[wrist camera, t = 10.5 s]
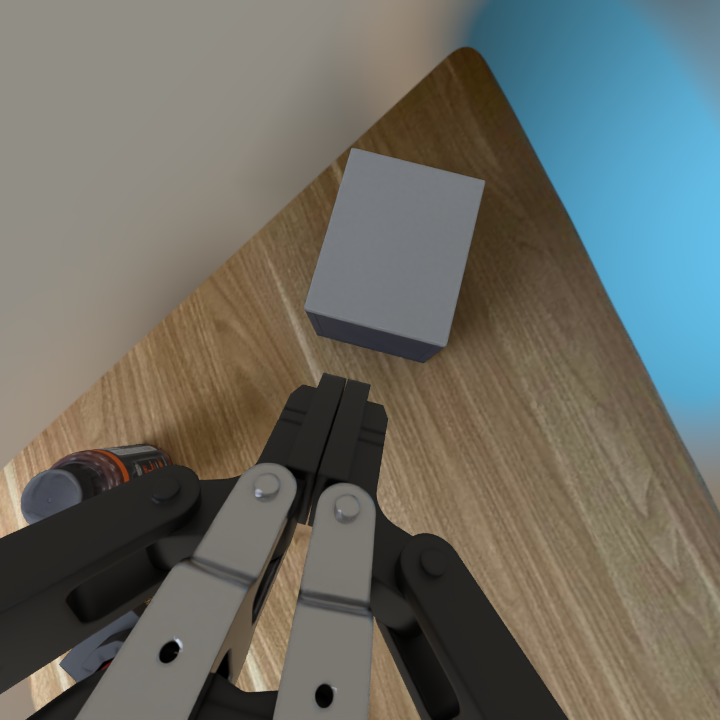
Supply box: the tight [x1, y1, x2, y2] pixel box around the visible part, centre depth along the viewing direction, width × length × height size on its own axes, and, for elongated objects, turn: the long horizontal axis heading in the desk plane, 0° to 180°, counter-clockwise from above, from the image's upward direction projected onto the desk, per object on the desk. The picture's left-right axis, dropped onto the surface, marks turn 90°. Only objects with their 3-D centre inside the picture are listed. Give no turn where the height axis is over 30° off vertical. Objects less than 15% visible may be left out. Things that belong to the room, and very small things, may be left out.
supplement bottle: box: [21, 444, 172, 525], centre depth 30 cm, size 6×6×11 cm
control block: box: [59, 603, 148, 683], centre depth 32 cm, size 10×7×4 cm
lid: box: [304, 148, 485, 347], centre depth 30 cm, size 14×11×1 cm
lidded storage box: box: [306, 311, 444, 363], centre depth 34 cm, size 13×11×9 cm
